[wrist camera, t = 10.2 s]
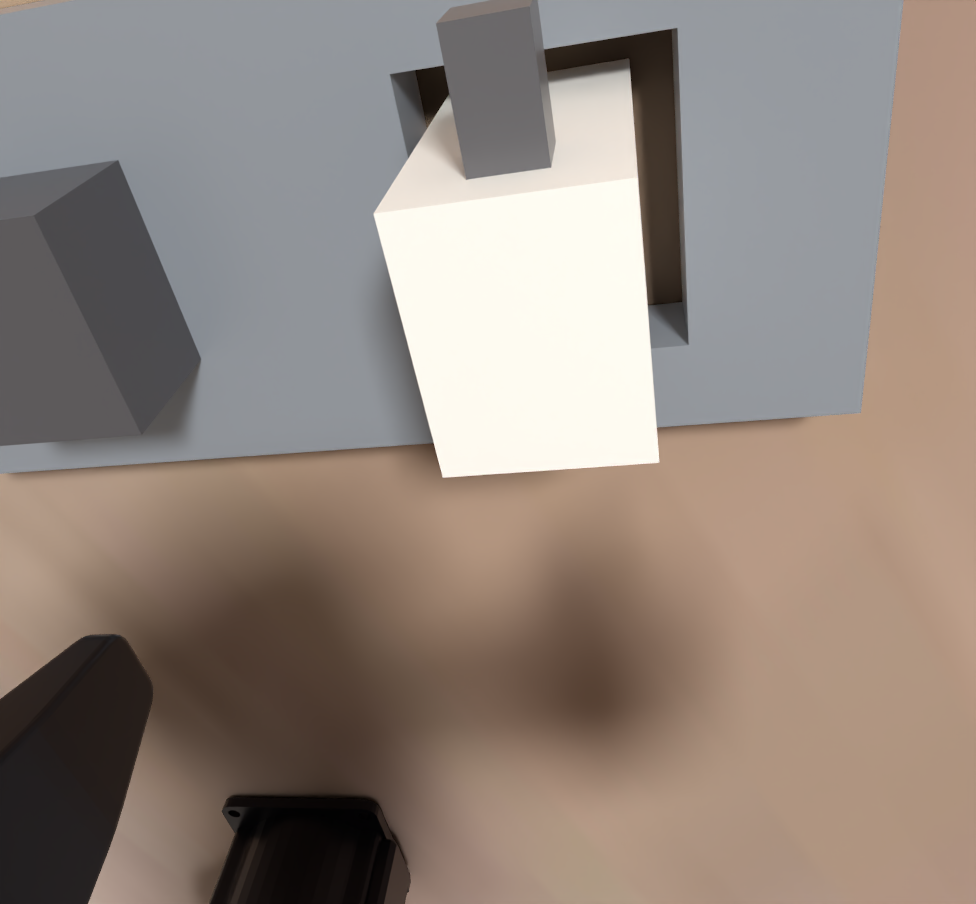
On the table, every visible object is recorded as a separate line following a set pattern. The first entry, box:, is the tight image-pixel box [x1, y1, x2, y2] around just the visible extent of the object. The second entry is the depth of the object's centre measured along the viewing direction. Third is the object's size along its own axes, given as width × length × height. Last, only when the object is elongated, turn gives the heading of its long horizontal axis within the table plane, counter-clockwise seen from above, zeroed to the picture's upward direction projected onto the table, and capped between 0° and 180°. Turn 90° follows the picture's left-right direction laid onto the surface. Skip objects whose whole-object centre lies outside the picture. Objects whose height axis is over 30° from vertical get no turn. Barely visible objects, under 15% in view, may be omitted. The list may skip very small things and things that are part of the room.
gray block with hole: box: [0, 0, 903, 474], centre depth 17 cm, size 22×10×5 cm, turn 100°
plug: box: [374, 0, 659, 478], centre depth 14 cm, size 4×6×7 cm, turn 10°
